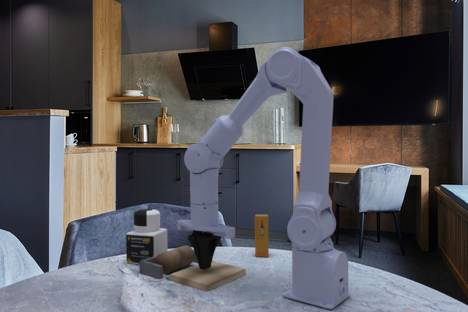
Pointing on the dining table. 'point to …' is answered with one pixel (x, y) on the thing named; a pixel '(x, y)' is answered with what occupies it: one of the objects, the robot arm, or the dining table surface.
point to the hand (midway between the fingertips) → (205, 268)
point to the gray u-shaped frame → (154, 267)
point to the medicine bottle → (145, 237)
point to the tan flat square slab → (207, 275)
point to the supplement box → (261, 236)
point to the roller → (175, 258)
